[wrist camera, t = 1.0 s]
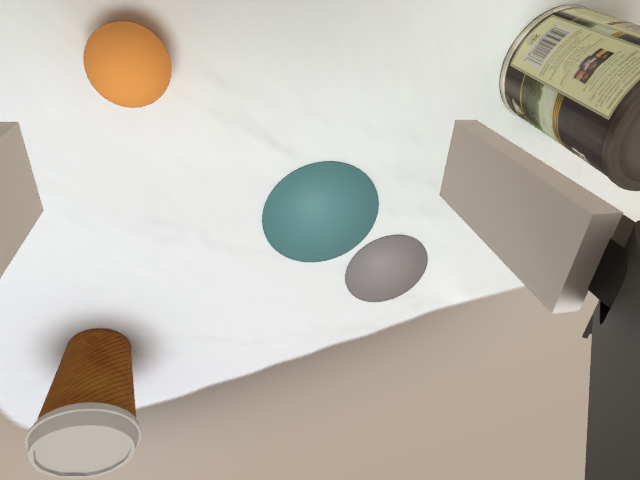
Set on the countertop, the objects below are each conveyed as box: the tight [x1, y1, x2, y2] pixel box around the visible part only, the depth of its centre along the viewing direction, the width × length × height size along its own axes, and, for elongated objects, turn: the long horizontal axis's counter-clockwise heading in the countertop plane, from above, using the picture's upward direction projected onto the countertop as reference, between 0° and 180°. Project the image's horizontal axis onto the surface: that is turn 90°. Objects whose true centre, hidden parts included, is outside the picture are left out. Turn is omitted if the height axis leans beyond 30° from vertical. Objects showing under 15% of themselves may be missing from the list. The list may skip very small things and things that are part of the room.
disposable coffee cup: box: [25, 329, 141, 479], centre depth 46 cm, size 10×10×12 cm
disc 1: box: [262, 162, 379, 262], centre depth 47 cm, size 12×12×1 cm
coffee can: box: [500, 5, 640, 191], centre depth 37 cm, size 10×10×14 cm
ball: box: [84, 21, 171, 108], centre depth 32 cm, size 6×6×6 cm
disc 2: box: [345, 235, 428, 302], centre depth 54 cm, size 10×10×1 cm
